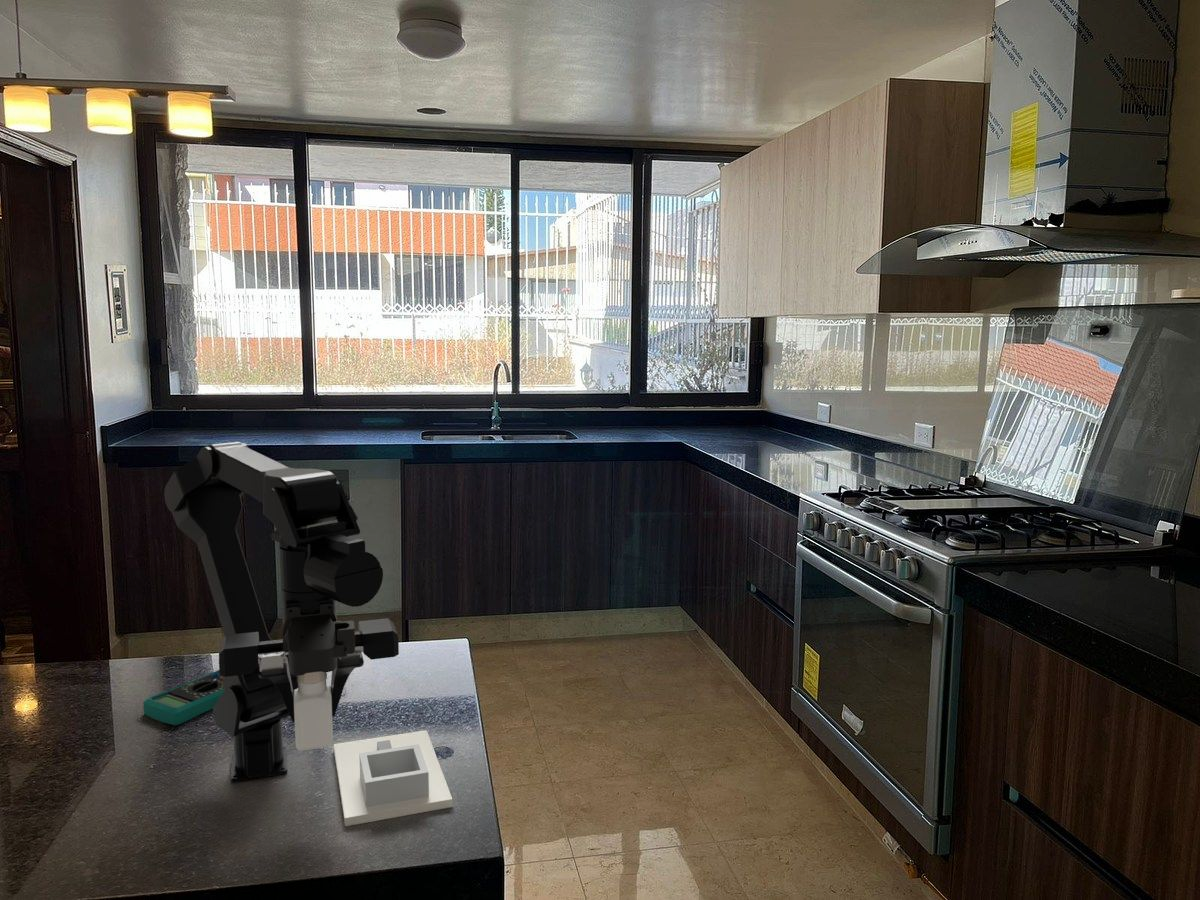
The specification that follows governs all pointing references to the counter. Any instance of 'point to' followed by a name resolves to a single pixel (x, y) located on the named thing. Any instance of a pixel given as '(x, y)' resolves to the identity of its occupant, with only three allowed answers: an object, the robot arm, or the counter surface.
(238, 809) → the counter surface
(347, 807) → the outlet plate
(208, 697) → the digital multimeter
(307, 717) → the pepper shaker
